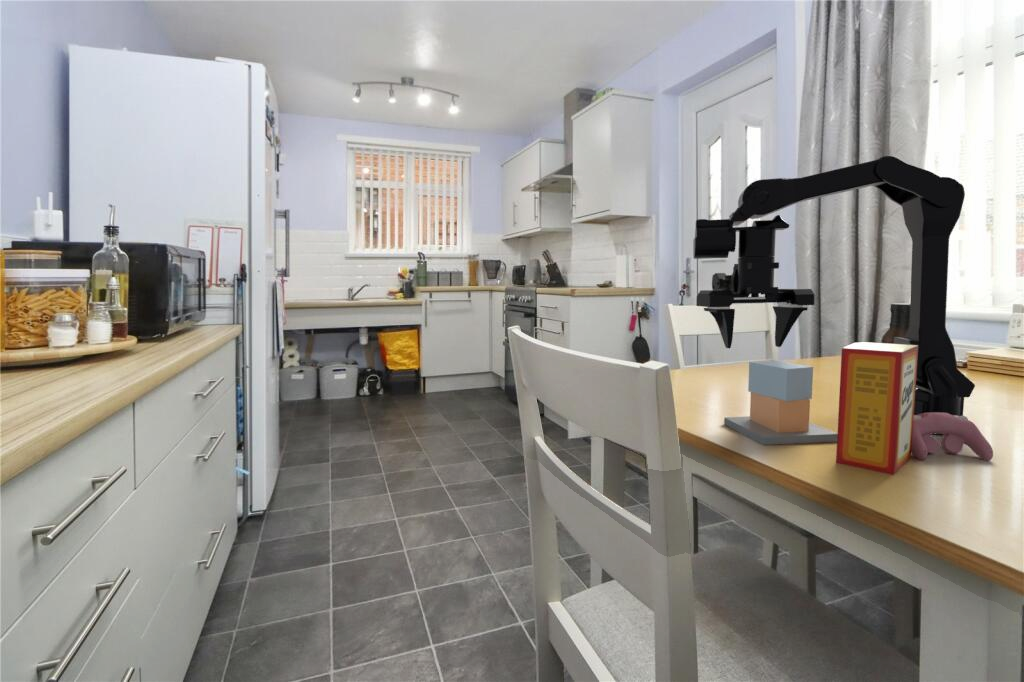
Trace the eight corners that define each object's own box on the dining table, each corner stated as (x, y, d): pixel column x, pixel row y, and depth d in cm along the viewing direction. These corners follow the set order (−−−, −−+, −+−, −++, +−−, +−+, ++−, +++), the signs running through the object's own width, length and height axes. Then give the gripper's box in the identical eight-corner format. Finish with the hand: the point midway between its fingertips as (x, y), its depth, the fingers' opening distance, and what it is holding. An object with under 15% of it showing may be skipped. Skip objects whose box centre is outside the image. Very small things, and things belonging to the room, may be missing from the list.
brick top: (772, 389, 90) (773, 360, 89) (811, 398, 82) (813, 366, 82) (748, 391, 88) (749, 361, 88) (785, 401, 81) (787, 369, 80)
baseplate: (789, 421, 92) (790, 414, 92) (838, 441, 81) (838, 433, 80) (724, 424, 91) (724, 417, 91) (763, 445, 79) (763, 437, 79)
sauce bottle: (869, 406, 102) (875, 303, 100) (882, 401, 106) (887, 302, 104) (909, 412, 97) (916, 304, 95) (920, 407, 101) (927, 303, 99)
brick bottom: (777, 418, 90) (778, 389, 90) (808, 431, 82) (810, 399, 82) (749, 419, 90) (750, 390, 89) (778, 432, 82) (779, 400, 81)
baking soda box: (856, 447, 78) (862, 339, 76) (910, 457, 73) (918, 342, 71) (836, 462, 71) (841, 345, 70) (894, 474, 67) (902, 349, 65)
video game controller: (974, 464, 74) (961, 415, 77) (1000, 459, 70) (984, 408, 73) (900, 463, 75) (889, 415, 78) (921, 459, 71) (908, 408, 73)
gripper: (779, 259, 100) (776, 341, 101) (684, 260, 98) (682, 343, 100) (819, 255, 89) (815, 348, 90) (712, 257, 87) (710, 351, 89)
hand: (753, 347), depth 92 cm, fingers open, 9 cm apart
